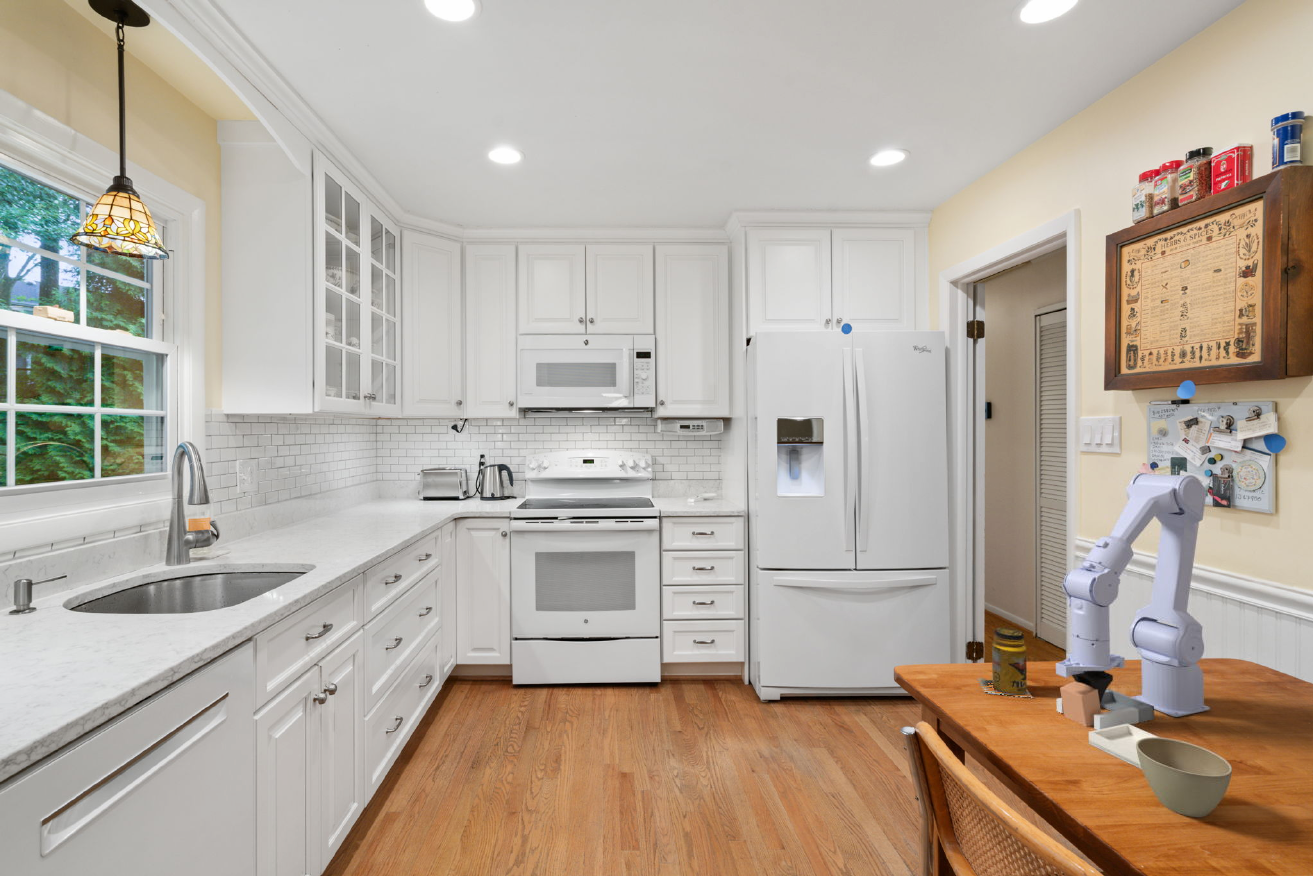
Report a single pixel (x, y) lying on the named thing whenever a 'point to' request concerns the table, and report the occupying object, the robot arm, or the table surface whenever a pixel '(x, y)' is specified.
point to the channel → (1110, 717)
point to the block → (1080, 703)
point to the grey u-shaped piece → (1126, 704)
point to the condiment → (1008, 663)
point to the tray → (1119, 741)
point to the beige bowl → (1184, 775)
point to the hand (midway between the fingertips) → (1091, 710)
